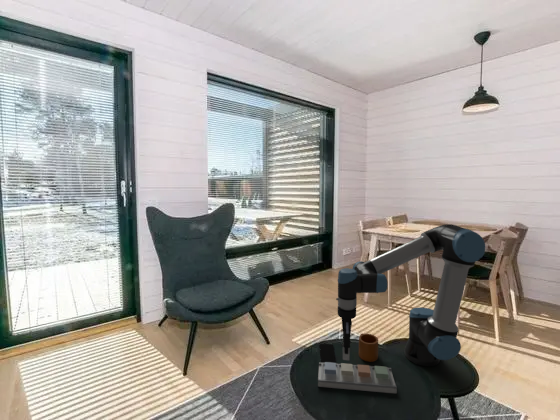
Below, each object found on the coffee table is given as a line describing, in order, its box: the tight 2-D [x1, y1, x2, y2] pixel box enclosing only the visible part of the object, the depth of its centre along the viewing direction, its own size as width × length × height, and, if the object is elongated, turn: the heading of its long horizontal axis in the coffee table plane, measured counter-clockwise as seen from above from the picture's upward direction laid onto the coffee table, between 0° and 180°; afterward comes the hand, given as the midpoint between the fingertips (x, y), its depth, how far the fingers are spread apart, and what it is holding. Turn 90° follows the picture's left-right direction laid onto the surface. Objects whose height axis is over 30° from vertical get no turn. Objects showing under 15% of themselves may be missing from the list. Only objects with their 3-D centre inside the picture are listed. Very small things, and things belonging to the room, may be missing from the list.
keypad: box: [317, 361, 398, 394], centre depth 129 cm, size 31×12×3 cm, turn 80°
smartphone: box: [318, 343, 337, 364], centre depth 148 cm, size 7×1×15 cm
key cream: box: [340, 362, 354, 376], centre depth 130 cm, size 5×5×2 cm
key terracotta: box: [357, 364, 371, 377], centre depth 128 cm, size 5×5×2 cm
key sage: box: [374, 365, 388, 379], centre depth 127 cm, size 5×5×2 cm
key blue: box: [324, 362, 337, 374], centre depth 131 cm, size 5×5×2 cm
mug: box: [358, 333, 379, 363], centre depth 146 cm, size 9×12×9 cm
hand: (346, 358), depth 129 cm, fingers closed
